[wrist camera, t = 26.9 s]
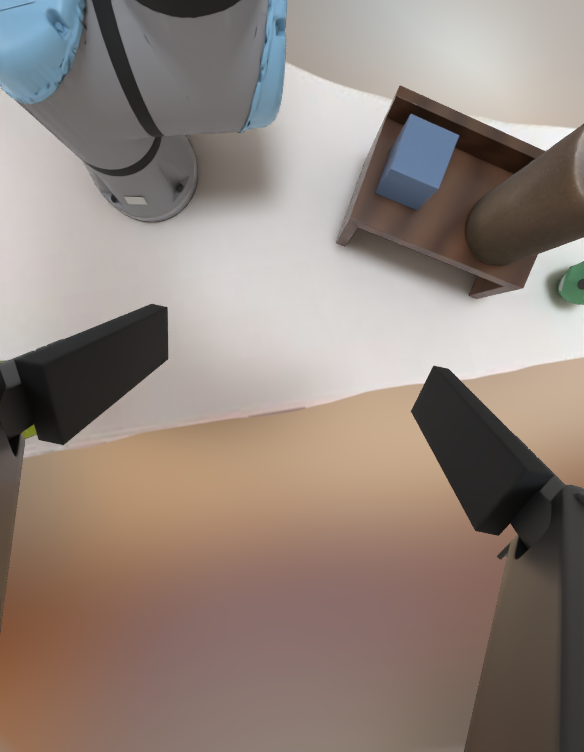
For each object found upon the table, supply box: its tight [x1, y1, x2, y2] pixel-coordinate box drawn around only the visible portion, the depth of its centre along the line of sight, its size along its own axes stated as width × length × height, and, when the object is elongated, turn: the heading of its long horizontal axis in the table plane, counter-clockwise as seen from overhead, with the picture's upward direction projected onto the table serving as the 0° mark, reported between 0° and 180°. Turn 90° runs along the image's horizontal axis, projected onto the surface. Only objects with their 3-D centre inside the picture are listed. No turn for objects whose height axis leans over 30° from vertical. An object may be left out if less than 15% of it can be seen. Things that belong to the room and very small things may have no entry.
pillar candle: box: [466, 124, 584, 266], centre depth 29 cm, size 10×10×15 cm
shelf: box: [336, 86, 546, 299], centre depth 39 cm, size 26×14×12 cm, turn 71°
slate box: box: [375, 114, 459, 210], centre depth 33 cm, size 6×6×5 cm
